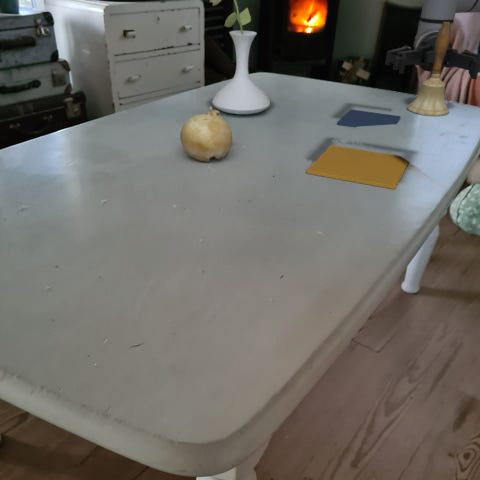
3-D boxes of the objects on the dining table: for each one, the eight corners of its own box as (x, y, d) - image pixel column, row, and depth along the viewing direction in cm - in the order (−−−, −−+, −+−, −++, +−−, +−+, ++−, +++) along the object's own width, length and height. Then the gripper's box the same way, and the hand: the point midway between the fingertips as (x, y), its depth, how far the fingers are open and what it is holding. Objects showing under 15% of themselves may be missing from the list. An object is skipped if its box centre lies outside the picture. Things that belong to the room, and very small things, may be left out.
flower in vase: (238, 100, 109) (241, -44, 94) (281, 111, 103) (291, -41, 88) (194, 112, 101) (190, -44, 86) (238, 124, 95) (242, -41, 80)
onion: (228, 167, 77) (229, 118, 73) (176, 164, 78) (174, 115, 74) (234, 150, 84) (235, 104, 80) (186, 147, 84) (184, 101, 80)
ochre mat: (394, 189, 72) (395, 186, 72) (306, 173, 76) (306, 170, 76) (409, 160, 82) (410, 157, 82) (330, 148, 86) (331, 145, 86)
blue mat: (390, 132, 94) (390, 129, 94) (336, 124, 97) (337, 121, 97) (400, 118, 101) (400, 116, 101) (350, 111, 104) (350, 109, 104)
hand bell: (425, 117, 102) (447, 25, 93) (398, 107, 108) (416, 19, 99) (457, 113, 105) (481, 24, 96) (429, 103, 111) (449, 18, 102)
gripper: (486, 73, 116) (501, 95, 99) (373, 64, 120) (369, 84, 104) (497, 35, 111) (514, 51, 95) (379, 28, 116) (376, 42, 99)
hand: (439, 68), depth 99 cm, fingers open, 13 cm apart
